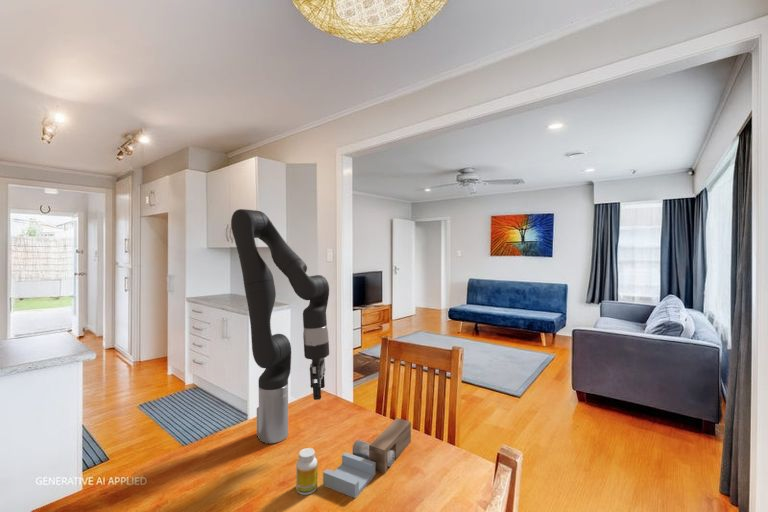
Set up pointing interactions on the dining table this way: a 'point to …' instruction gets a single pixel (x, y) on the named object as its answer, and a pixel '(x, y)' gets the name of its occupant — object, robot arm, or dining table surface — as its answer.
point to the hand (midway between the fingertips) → (319, 393)
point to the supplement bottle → (306, 472)
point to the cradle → (350, 475)
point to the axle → (363, 451)
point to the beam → (390, 443)
